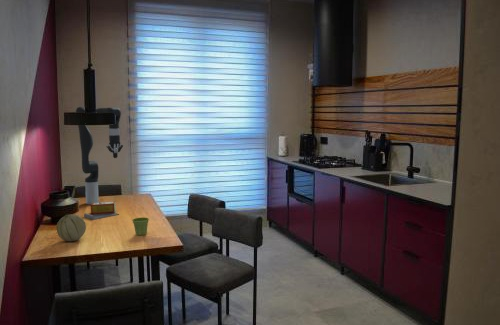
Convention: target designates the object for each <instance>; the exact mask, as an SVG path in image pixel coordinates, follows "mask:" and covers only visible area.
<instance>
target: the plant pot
mask: <svg viewBox="0 0 500 325" xmlns="http://www.w3.org/2000/svg"><path fill="white" fill-rule="evenodd" d="M149 221H150V217H136V218H132V224H133V226H134V231H135V232H134V233H135V235H136V236H145V235H147V233H148V224H149Z"/></svg>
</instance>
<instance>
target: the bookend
mask: <svg viewBox="0 0 500 325" xmlns="http://www.w3.org/2000/svg"><path fill="white" fill-rule="evenodd" d="M113 216H120V213H118V212H117V213H116V212H115V213H104V214H91V213H90V214H89V213H83V217H84V218H86V219H89V220H93V221H94V220H99V219H103V218H109V217H113Z"/></svg>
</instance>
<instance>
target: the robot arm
mask: <svg viewBox="0 0 500 325" xmlns="http://www.w3.org/2000/svg"><path fill="white" fill-rule="evenodd" d="M85 107H86V106H78V107H77V108H76V109H75V114H76V113H84V112H85ZM95 109H96V112H97V113H114V114H115V115H116V124H113V125H109V124H108V139H109V143H108V145H106V148H107V150H108V151H109V152H110V153H112V157H113V158H114V159H118V153H120V152H121V151H122V149H123V147H124V145H123V144H121V140H120V139H121V135H120V134H121V131H120V120H121V115H122V111H121V109H120V108H119V107H98V108H95ZM77 125H78V124H77ZM78 133H79V134H78V135H79V142H80V152H81V169H82V172H83V173H84V174H86V175H87V174H89V176H87V177H85V178H84V183H85V184H84V185H85V186H84V187H85V204H86V205H91V204H92V203H97V202H100V201H99V185H98V184H99V182H98V181H99V163H98V162H97V161H95V160H90V158H89V157H90V153H91V150H92V149H93V147H94V139H93V134H92V133H91V131H90V130H89V128H88V126H87V125H78Z"/></svg>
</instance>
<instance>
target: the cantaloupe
mask: <svg viewBox="0 0 500 325" xmlns="http://www.w3.org/2000/svg"><path fill="white" fill-rule="evenodd" d="M86 229H87V224H86V221H85V219H84V218H83V217H81V216H80V215H78V214H76V213H75V214H74V213H72V214H71V213H69V214H65V215H64V216H62V217H61V218H60V219H59V221H58V222H57V223H56V233H57V235H58V236H59V238H60V239H61V240H63V241H65V242H74V241H78V240H79V239H81V238H82V237H83V236H84V235H85V233H86Z"/></svg>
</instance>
